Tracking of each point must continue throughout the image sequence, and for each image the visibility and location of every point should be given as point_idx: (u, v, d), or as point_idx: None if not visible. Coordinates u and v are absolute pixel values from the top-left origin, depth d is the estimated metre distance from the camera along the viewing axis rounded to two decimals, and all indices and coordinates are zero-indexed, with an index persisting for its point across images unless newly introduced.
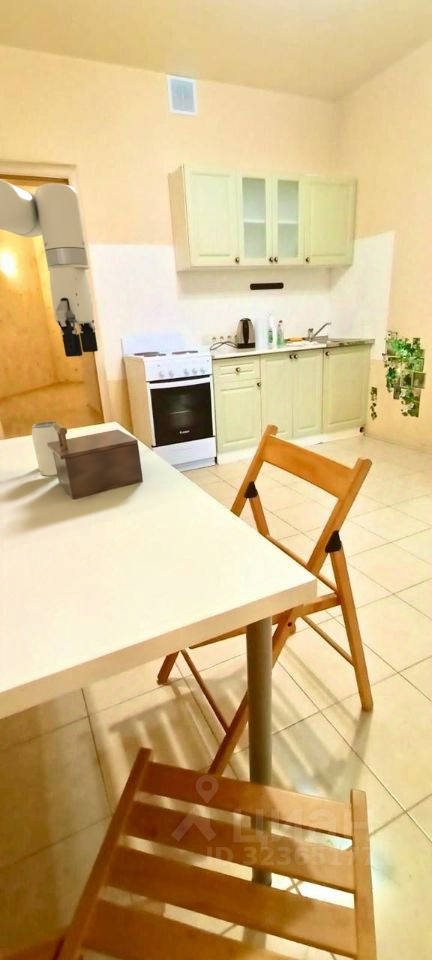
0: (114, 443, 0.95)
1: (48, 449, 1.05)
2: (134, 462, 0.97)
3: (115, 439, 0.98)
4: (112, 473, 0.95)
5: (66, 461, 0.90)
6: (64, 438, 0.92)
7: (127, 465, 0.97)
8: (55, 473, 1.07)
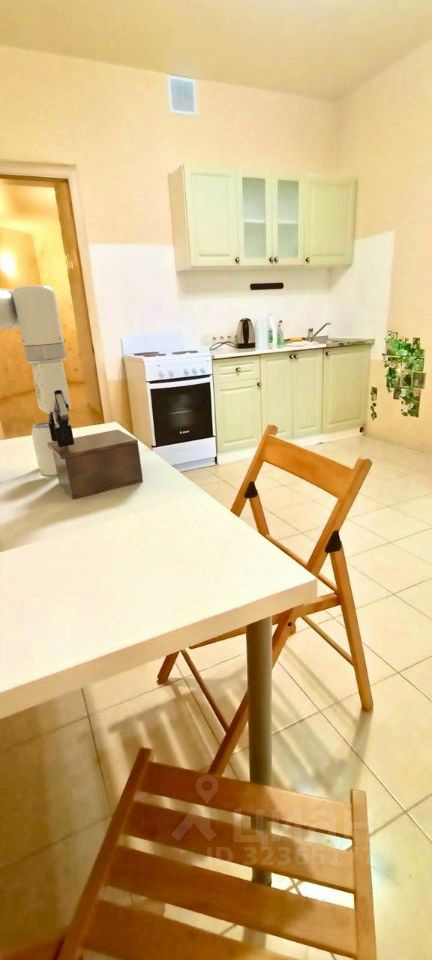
0: (114, 443, 0.95)
1: (48, 449, 1.05)
2: (134, 462, 0.97)
3: (115, 439, 0.98)
4: (112, 473, 0.95)
5: (66, 461, 0.90)
6: None
7: (127, 465, 0.97)
8: (55, 473, 1.07)
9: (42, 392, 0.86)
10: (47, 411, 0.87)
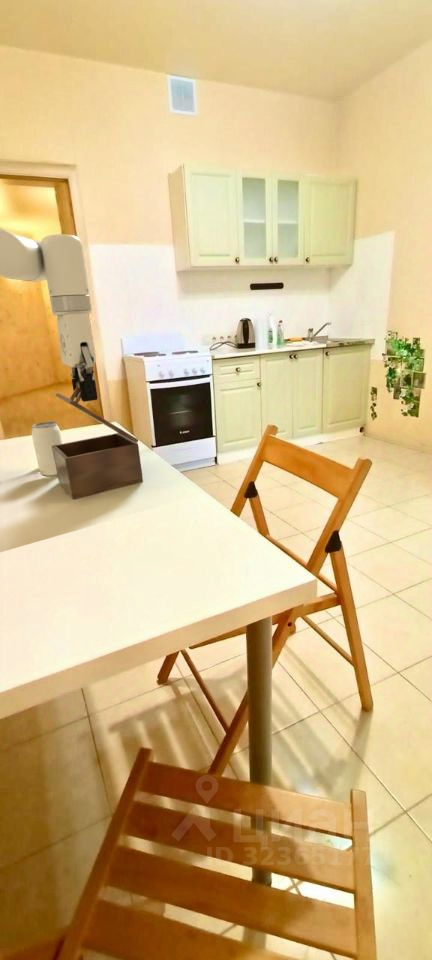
0: None
1: (48, 449, 1.05)
2: (134, 462, 0.97)
3: None
4: (112, 473, 0.95)
5: (66, 461, 0.90)
6: None
7: (127, 465, 0.97)
8: (55, 473, 1.07)
9: (68, 344, 0.86)
10: (72, 363, 0.87)
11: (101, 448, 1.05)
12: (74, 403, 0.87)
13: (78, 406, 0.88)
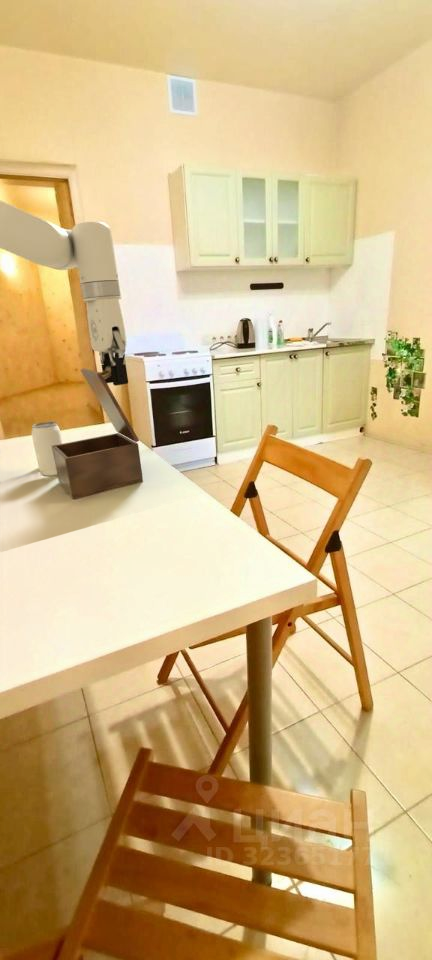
0: None
1: (48, 449, 1.05)
2: (134, 462, 0.97)
3: None
4: (112, 473, 0.95)
5: (66, 461, 0.90)
6: (109, 374, 0.93)
7: (127, 465, 0.97)
8: (55, 473, 1.07)
9: (100, 329, 0.89)
10: (105, 347, 0.89)
11: (101, 448, 1.05)
12: (101, 376, 0.89)
13: (103, 381, 0.89)
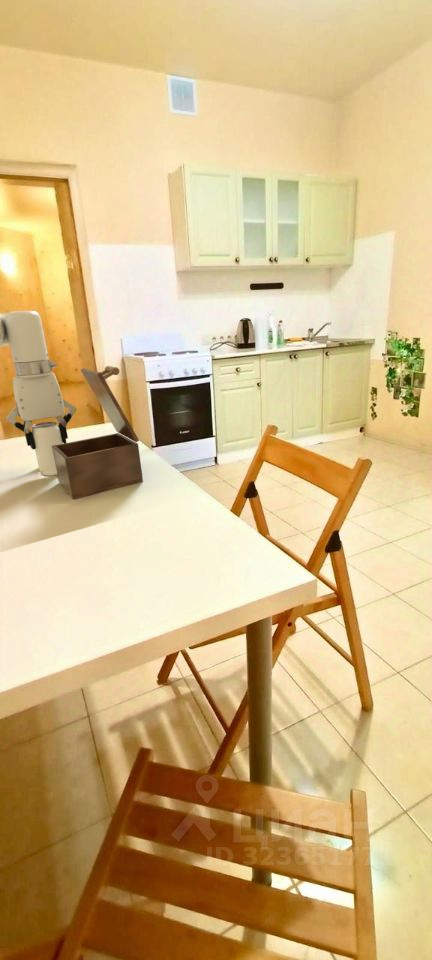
0: None
1: (48, 449, 1.05)
2: (134, 462, 0.97)
3: None
4: (112, 473, 0.95)
5: (66, 461, 0.90)
6: (109, 374, 0.93)
7: (127, 465, 0.97)
8: (55, 473, 1.07)
9: None
10: None
11: (101, 448, 1.05)
12: (101, 376, 0.89)
13: (103, 381, 0.89)
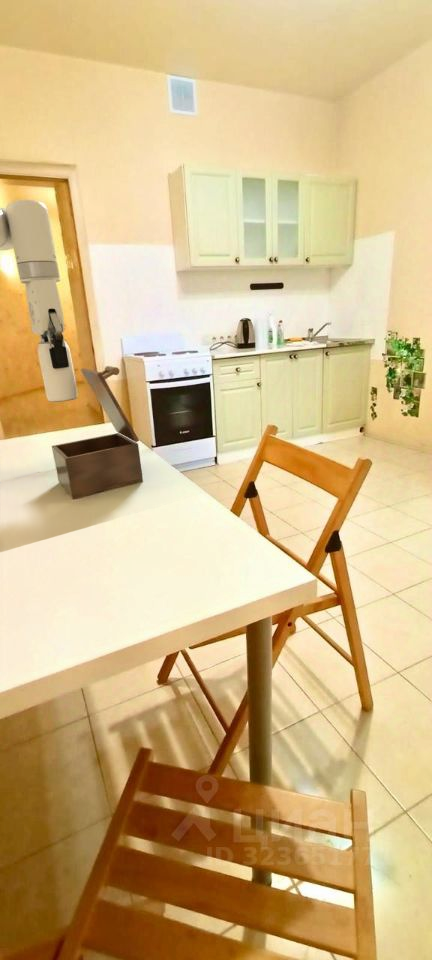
0: None
1: None
2: (134, 462, 0.97)
3: None
4: (112, 473, 0.95)
5: (66, 461, 0.90)
6: (109, 374, 0.93)
7: (127, 465, 0.97)
8: None
9: (36, 310, 0.86)
10: (41, 330, 0.87)
11: (101, 448, 1.05)
12: (101, 376, 0.89)
13: (103, 381, 0.89)
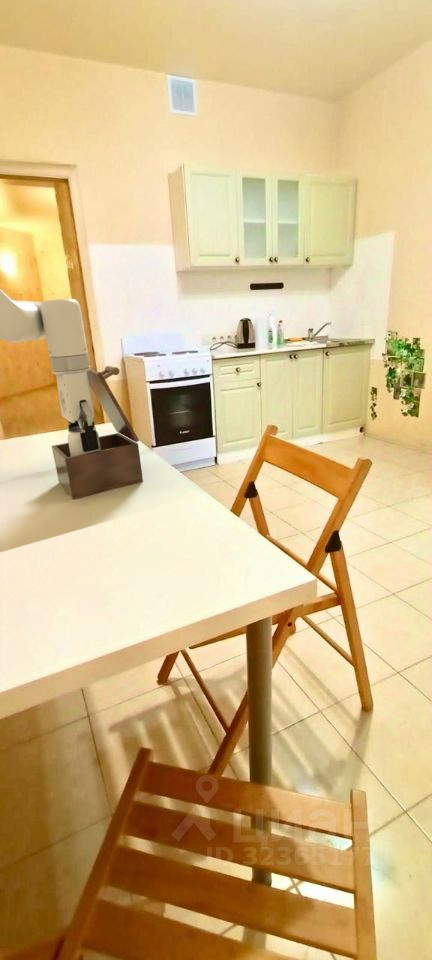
0: None
1: None
2: (134, 462, 0.97)
3: None
4: (112, 473, 0.95)
5: (66, 461, 0.90)
6: (109, 374, 0.93)
7: (127, 465, 0.97)
8: None
9: (67, 402, 0.89)
10: (72, 420, 0.90)
11: (101, 448, 1.05)
12: (101, 376, 0.89)
13: (103, 381, 0.89)
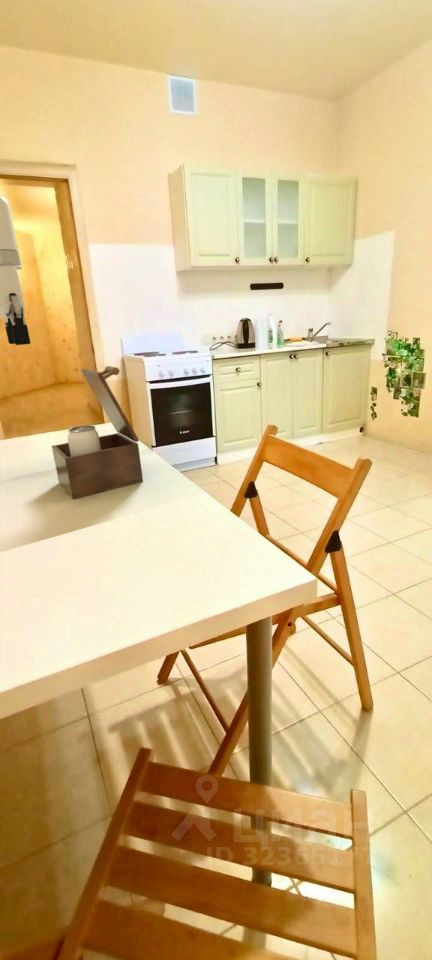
0: None
1: None
2: (134, 462, 0.97)
3: None
4: (112, 473, 0.95)
5: (66, 461, 0.90)
6: (109, 374, 0.93)
7: (127, 465, 0.97)
8: None
9: None
10: (3, 312, 0.96)
11: (101, 448, 1.05)
12: (101, 376, 0.89)
13: (103, 381, 0.89)
